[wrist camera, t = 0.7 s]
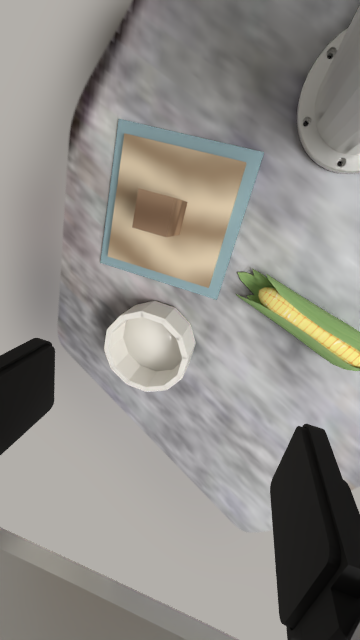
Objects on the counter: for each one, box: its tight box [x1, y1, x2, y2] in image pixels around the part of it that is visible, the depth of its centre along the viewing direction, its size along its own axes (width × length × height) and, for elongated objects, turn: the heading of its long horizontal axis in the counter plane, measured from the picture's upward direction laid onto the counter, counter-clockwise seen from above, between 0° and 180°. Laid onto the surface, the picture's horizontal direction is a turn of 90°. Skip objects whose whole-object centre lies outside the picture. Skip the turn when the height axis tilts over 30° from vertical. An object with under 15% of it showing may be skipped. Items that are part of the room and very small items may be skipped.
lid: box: [108, 133, 246, 288], centre depth 31 cm, size 15×15×7 cm
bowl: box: [104, 301, 196, 392], centre depth 39 cm, size 12×12×6 cm
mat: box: [100, 119, 264, 300], centre depth 35 cm, size 18×18×1 cm
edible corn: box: [236, 269, 360, 371], centre depth 33 cm, size 5×20×5 cm, turn 58°
